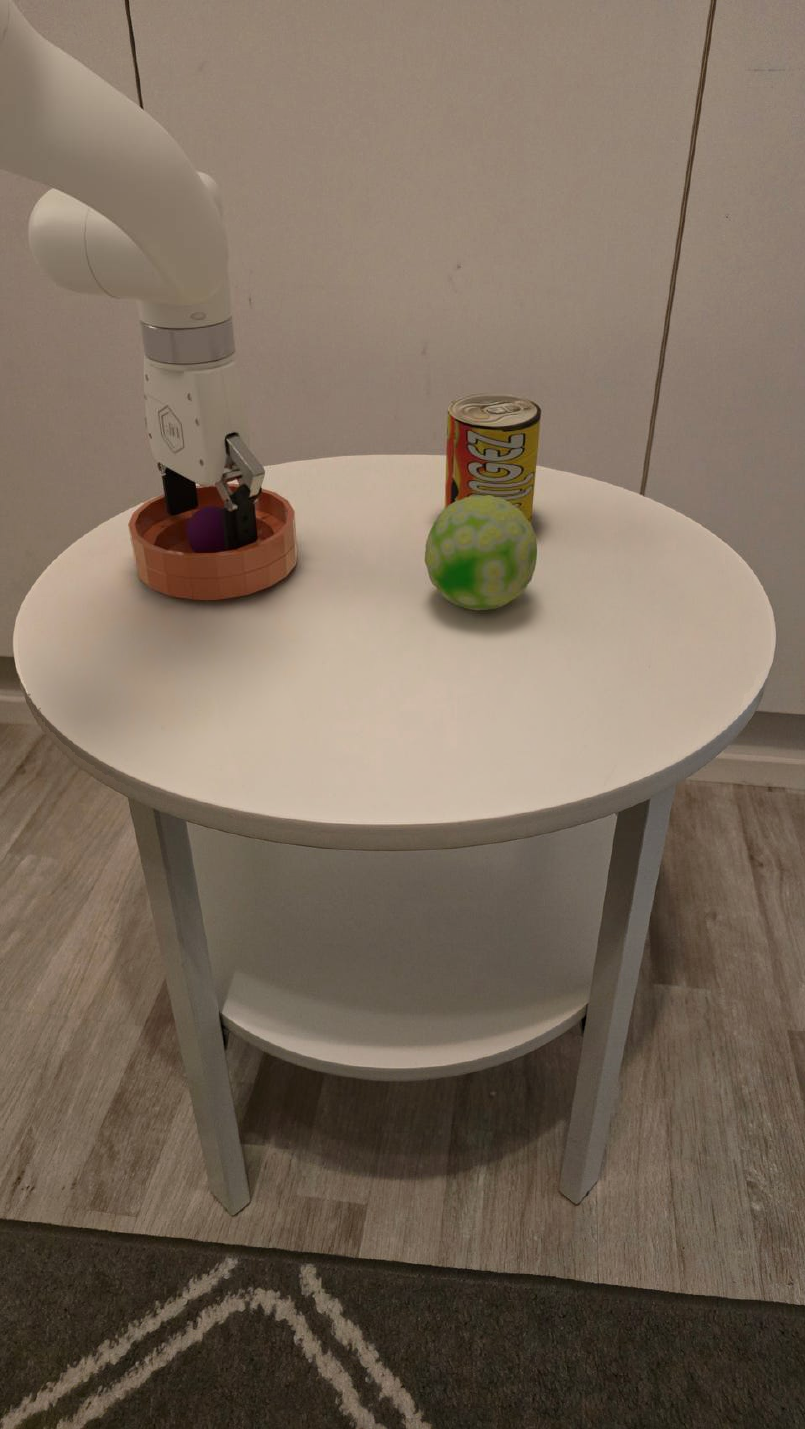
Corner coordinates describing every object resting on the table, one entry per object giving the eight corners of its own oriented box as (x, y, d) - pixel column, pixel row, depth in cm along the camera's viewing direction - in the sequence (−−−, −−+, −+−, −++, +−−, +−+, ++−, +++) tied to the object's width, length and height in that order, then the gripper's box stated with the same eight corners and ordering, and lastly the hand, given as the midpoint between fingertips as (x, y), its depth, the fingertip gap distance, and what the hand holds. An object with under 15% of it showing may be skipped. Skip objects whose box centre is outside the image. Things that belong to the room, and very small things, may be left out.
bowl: (184, 623, 86) (176, 573, 83) (111, 558, 96) (101, 511, 93) (327, 572, 94) (325, 524, 91) (246, 516, 103) (241, 471, 100)
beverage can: (428, 516, 103) (430, 403, 96) (499, 498, 107) (506, 388, 100) (474, 551, 97) (480, 433, 90) (548, 530, 101) (560, 416, 93)
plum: (197, 575, 92) (188, 523, 89) (186, 554, 96) (176, 503, 93) (251, 564, 93) (244, 512, 90) (238, 543, 97) (230, 493, 94)
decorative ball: (517, 572, 94) (525, 473, 88) (545, 627, 86) (555, 522, 80) (415, 579, 93) (416, 479, 86) (433, 636, 85) (436, 530, 79)
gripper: (97, 326, 85) (128, 510, 95) (209, 374, 75) (231, 573, 85) (172, 311, 89) (194, 488, 99) (288, 354, 79) (300, 547, 89)
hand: (211, 527), depth 92 cm, fingers open, 9 cm apart
